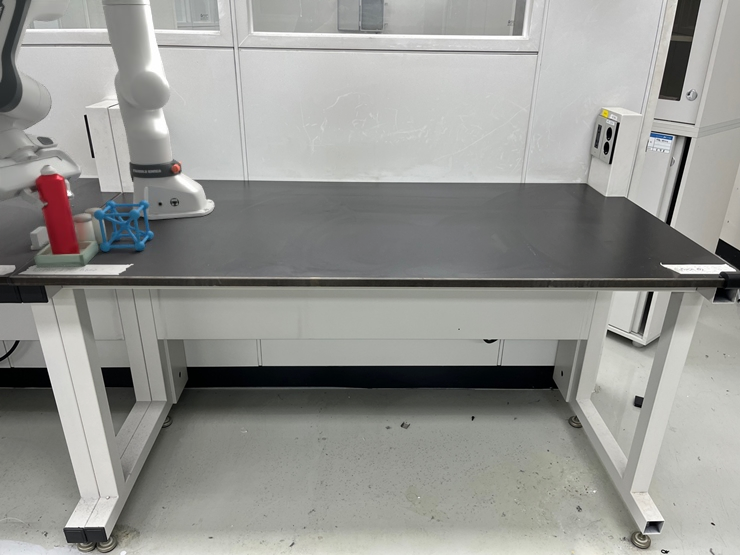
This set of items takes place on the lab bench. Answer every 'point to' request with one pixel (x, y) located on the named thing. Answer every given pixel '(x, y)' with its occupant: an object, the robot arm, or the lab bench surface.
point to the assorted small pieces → (86, 237)
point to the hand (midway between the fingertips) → (57, 203)
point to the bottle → (57, 212)
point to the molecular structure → (124, 225)
